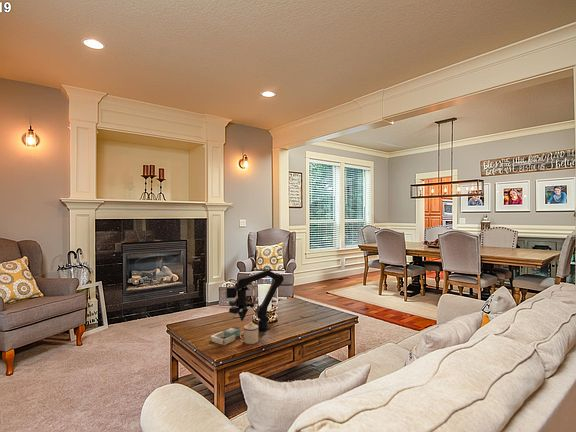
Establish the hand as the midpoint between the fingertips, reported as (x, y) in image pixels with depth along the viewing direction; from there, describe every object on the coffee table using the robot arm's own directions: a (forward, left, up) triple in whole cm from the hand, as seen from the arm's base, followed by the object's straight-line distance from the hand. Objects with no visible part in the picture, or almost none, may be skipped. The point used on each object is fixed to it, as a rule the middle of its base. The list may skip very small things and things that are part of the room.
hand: (242, 320), depth 216 cm
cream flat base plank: (+17, 0, -8) cm, 19 cm away
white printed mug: (+11, +15, -8) cm, 20 cm away
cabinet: (+9, 0, -8) cm, 12 cm away
